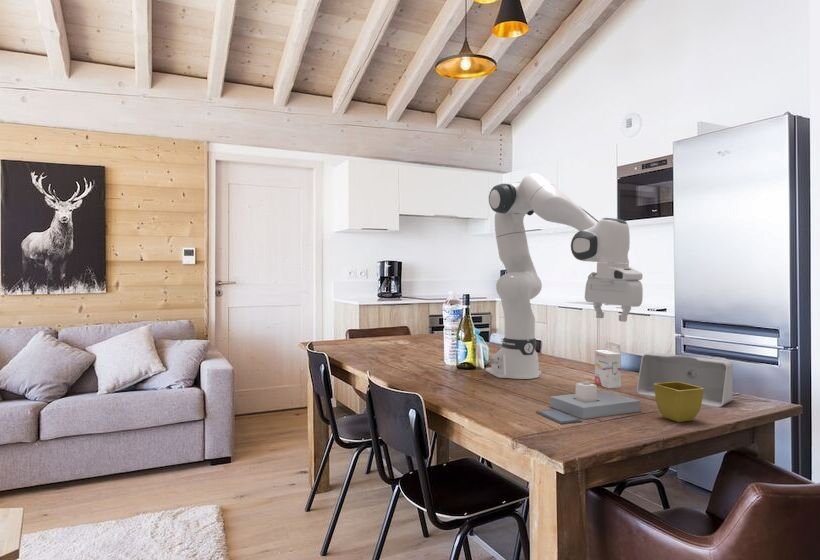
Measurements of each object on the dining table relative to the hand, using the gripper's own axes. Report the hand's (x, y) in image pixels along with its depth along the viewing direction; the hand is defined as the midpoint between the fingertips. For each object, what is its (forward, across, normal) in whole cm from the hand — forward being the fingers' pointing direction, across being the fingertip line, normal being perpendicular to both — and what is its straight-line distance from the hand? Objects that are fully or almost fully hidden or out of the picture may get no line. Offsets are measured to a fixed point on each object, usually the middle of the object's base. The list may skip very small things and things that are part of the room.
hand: (611, 319), depth 160 cm
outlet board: (+25, +4, -8) cm, 27 cm away
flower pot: (+25, +21, +5) cm, 33 cm away
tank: (+25, +2, +29) cm, 39 cm away
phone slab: (+26, +7, -23) cm, 35 cm away
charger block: (+25, +4, -12) cm, 28 cm away
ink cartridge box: (+25, -20, +17) cm, 36 cm away
